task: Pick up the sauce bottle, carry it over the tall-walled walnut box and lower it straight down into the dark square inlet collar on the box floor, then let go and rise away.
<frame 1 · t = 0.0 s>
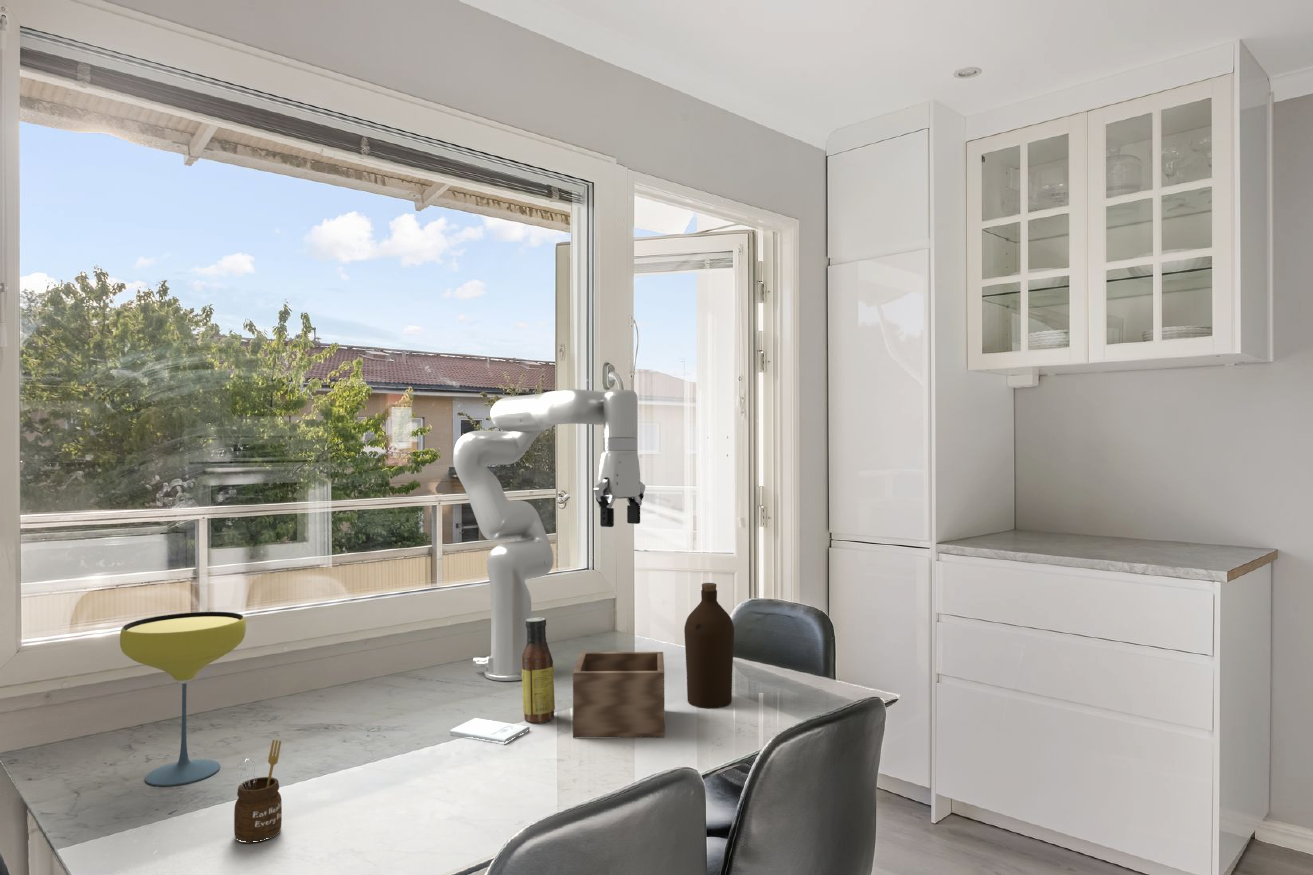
hand: (620, 525, 178), 37 cm above the table, tool pointing down, fingers open, 9 cm apart
sauce bottle: (538, 720, 163), on the table
cocktail glass: (183, 774, 135), on the table
walled box: (620, 723, 160), on the table
utensil holder: (258, 835, 113), on the table
olive oil: (709, 702, 174), on the table
external hard drive: (490, 737, 154), on the table
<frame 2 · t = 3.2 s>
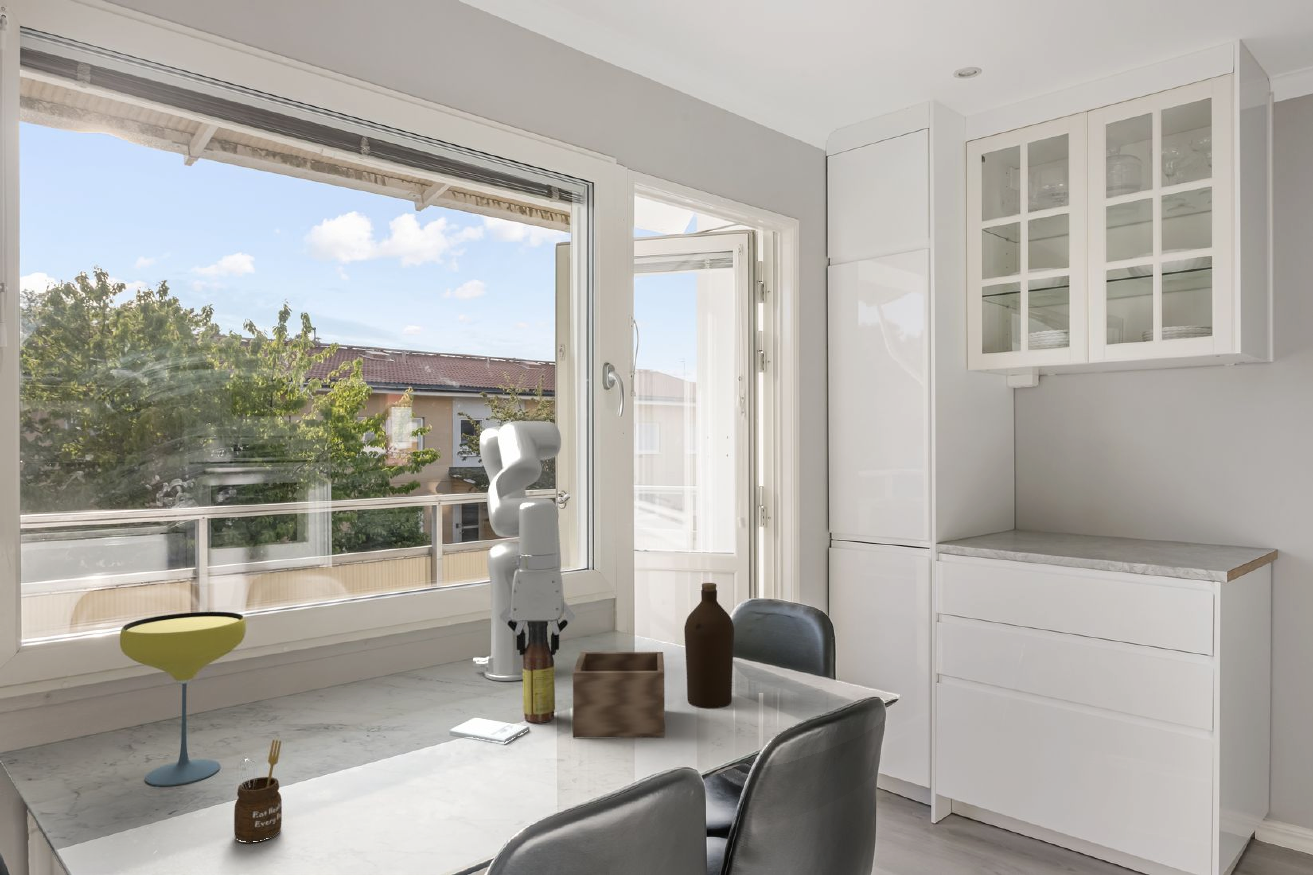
hand: (538, 652, 163), 13 cm above the table, tool pointing down, fingers closed on sauce bottle, 5 cm apart
sauce bottle: (538, 719, 162), on the table, touching gripper
everything else where it was.
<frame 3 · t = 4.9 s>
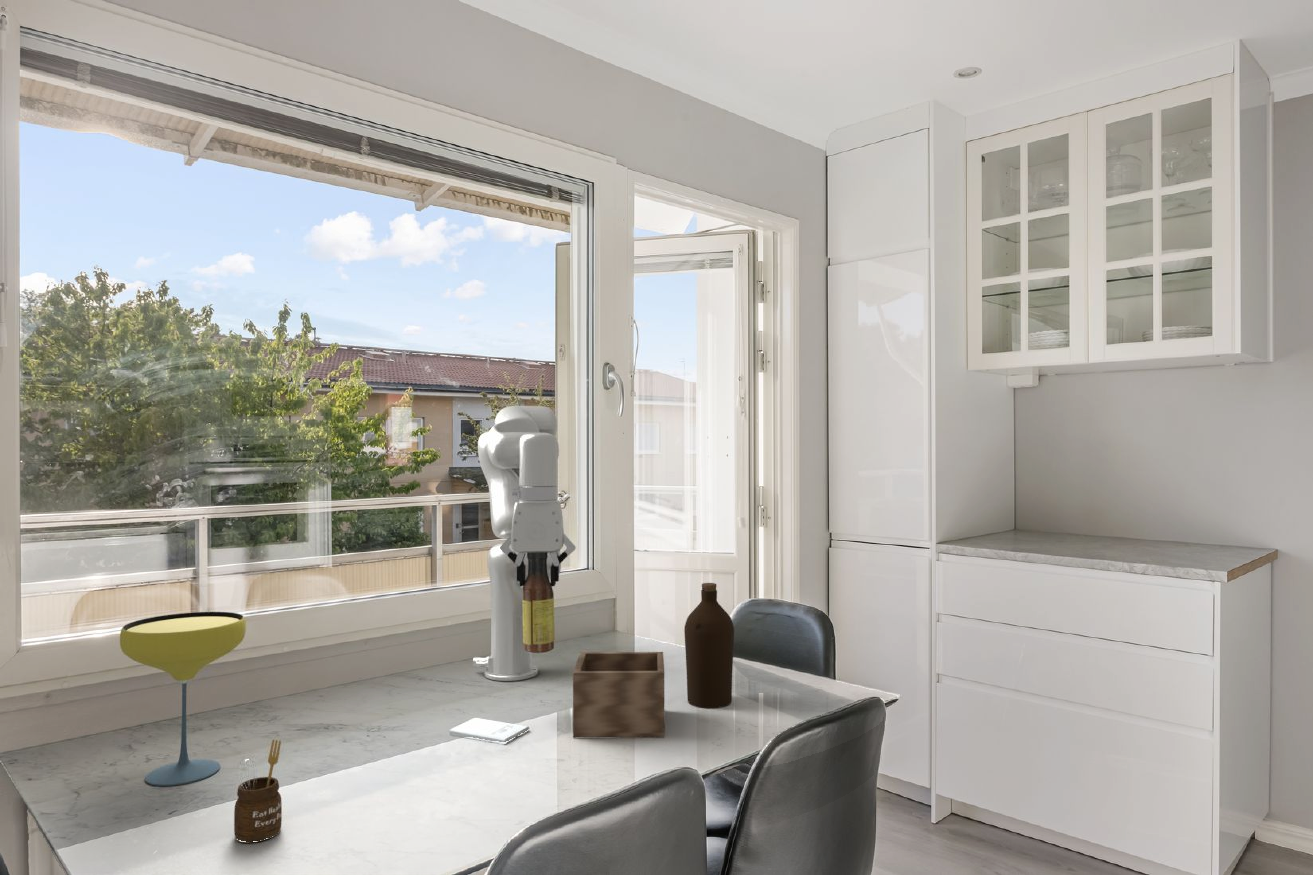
hand: (537, 584, 164), 27 cm above the table, tool pointing down, fingers closed on sauce bottle, 5 cm apart
sauce bottle: (537, 650, 164), point 13 cm above the table, touching gripper
everything else where it was.
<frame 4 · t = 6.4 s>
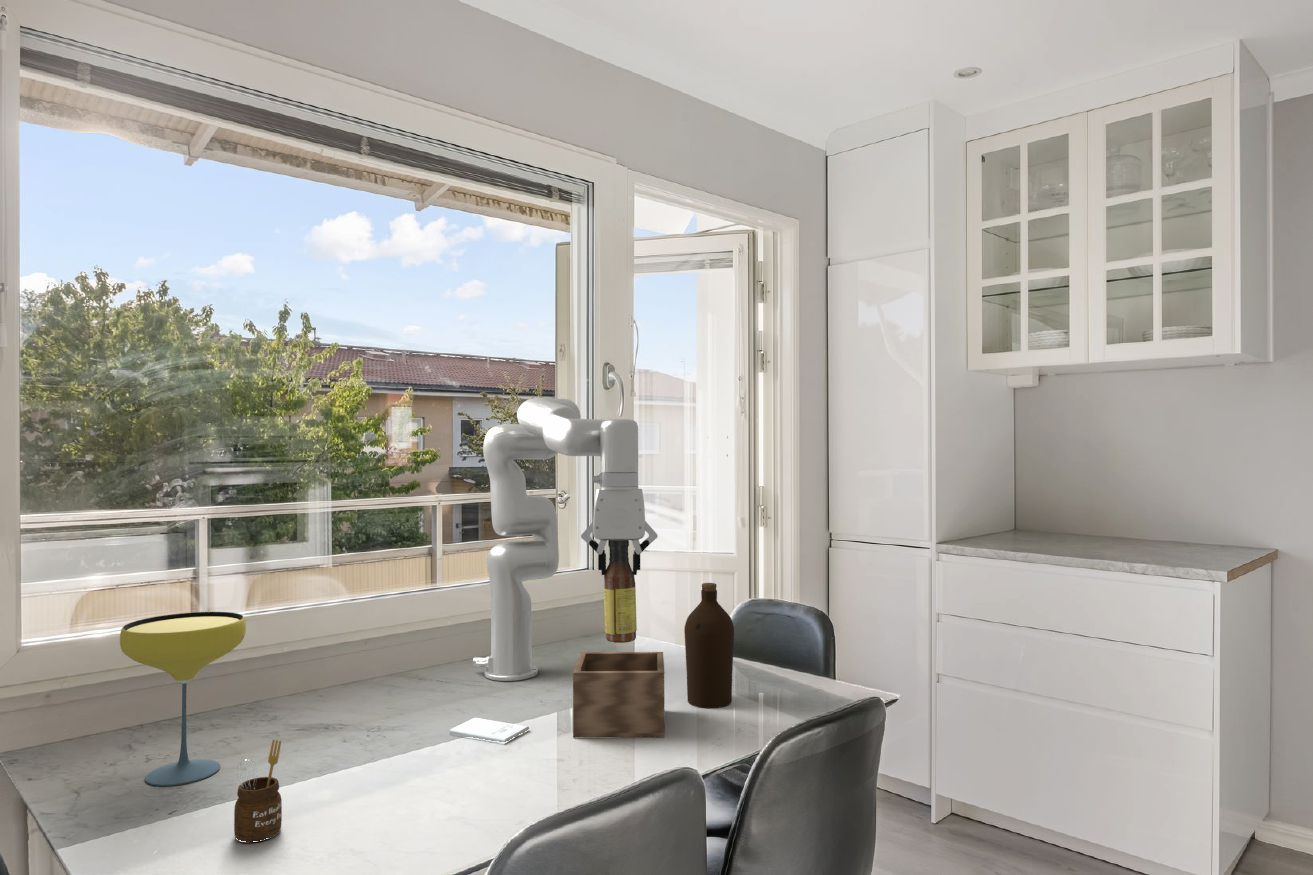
hand: (619, 573, 160), 29 cm above the table, tool pointing down, fingers closed on sauce bottle, 5 cm apart
sauce bottle: (619, 641, 160), point 16 cm above the table, touching gripper
everything else where it was.
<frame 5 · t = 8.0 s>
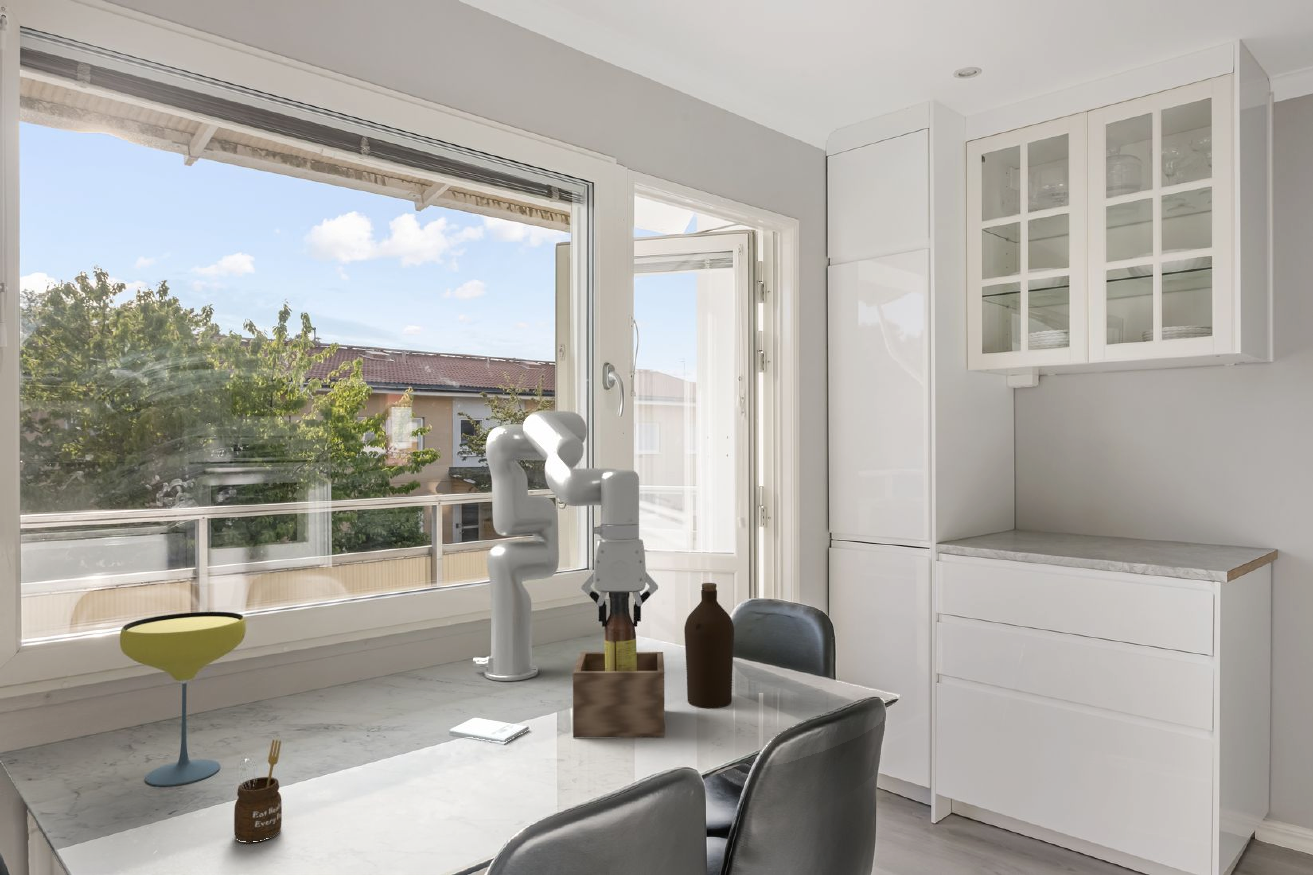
hand: (619, 624, 160), 19 cm above the table, tool pointing down, fingers closed on sauce bottle, 5 cm apart
sauce bottle: (620, 692, 160), point 6 cm above the table, touching gripper
everything else where it was.
when the fingers open (15 cm above the table, at t = 9.4 s): sauce bottle drops 1 cm, resting on walled box.
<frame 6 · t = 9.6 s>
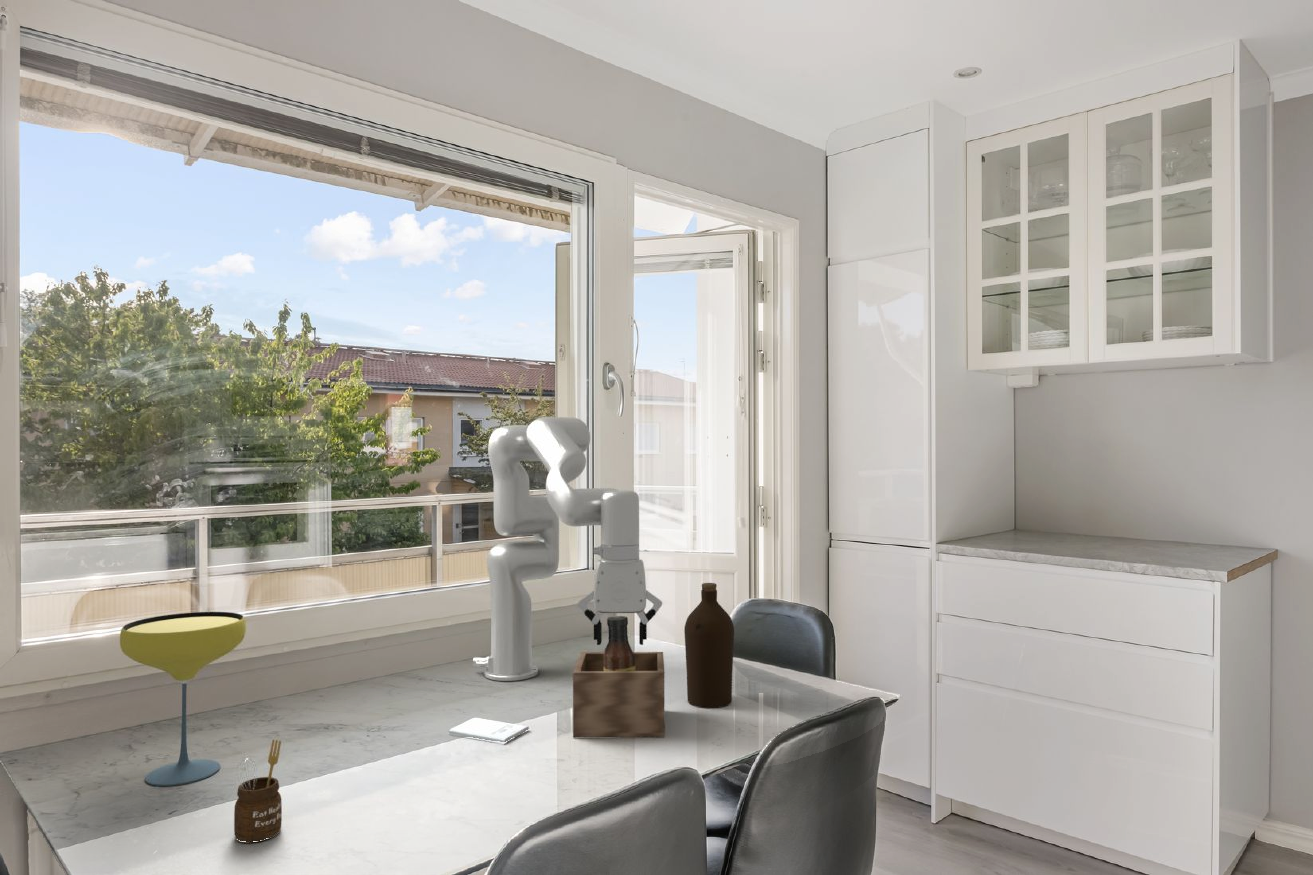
hand: (620, 642, 160), 16 cm above the table, tool pointing down, fingers open, 7 cm apart
sauce bottle: (620, 720, 160), point 1 cm above the table, touching walled box
everything else where it was.
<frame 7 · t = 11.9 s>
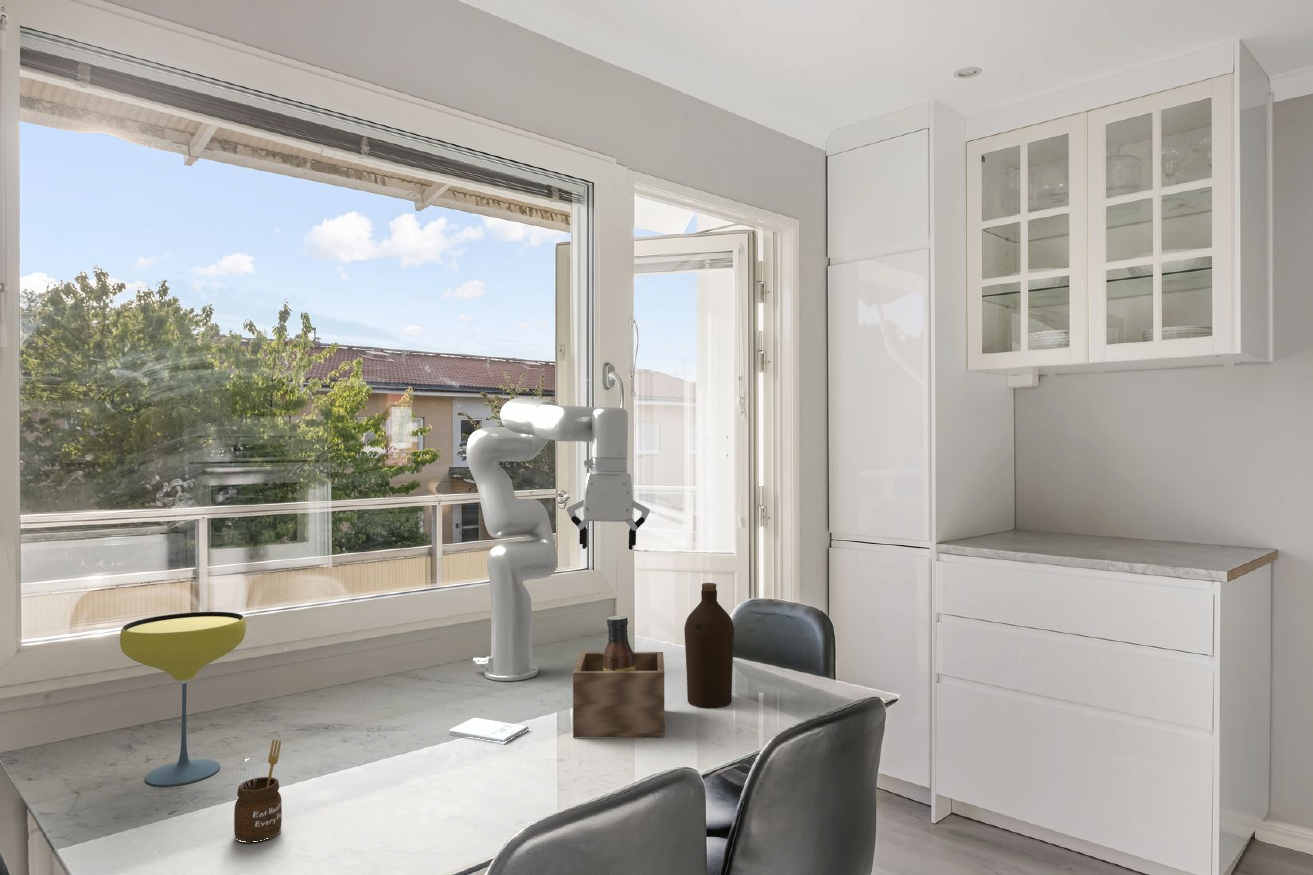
hand: (607, 548, 170), 33 cm above the table, tool pointing down, fingers open, 9 cm apart
nothing on the table moved.
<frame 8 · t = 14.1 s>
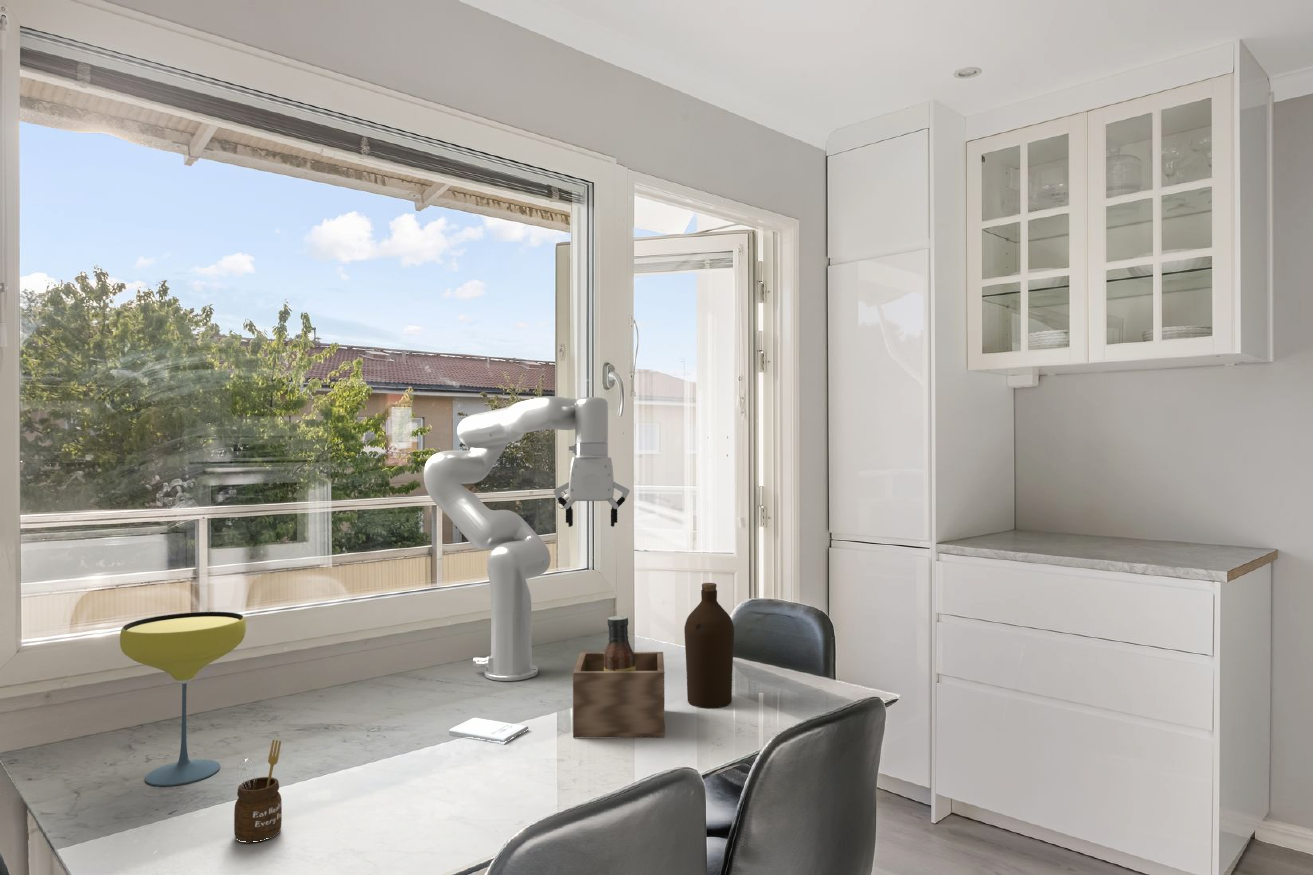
hand: (591, 526, 186), 36 cm above the table, tool pointing down, fingers open, 9 cm apart
nothing on the table moved.
at the end: sauce bottle 0.1 cm off-centre on the walled box, point 0.6 cm above the walled box's base; sauce bottle tilted 0°; the gripper is holding nothing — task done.
